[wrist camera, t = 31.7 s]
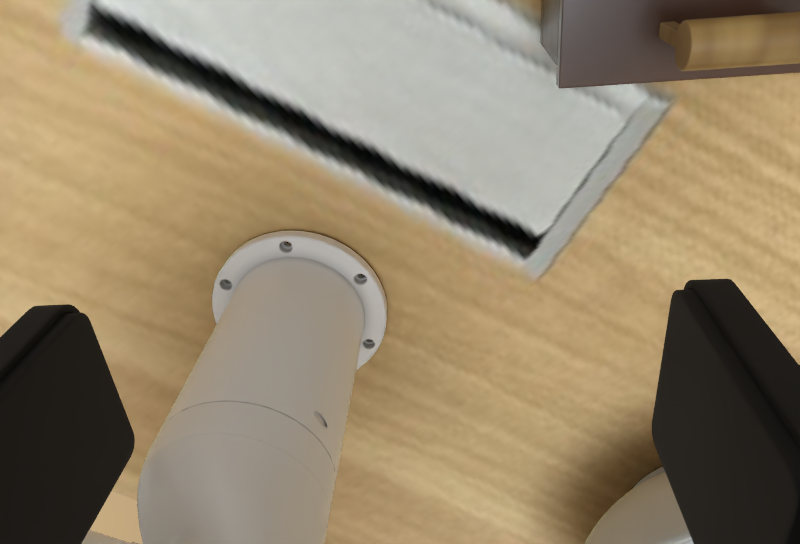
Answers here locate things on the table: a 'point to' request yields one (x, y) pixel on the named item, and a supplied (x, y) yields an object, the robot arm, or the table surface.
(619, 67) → the chest lid
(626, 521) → the decorative bowl
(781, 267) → the table surface
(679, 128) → the table surface
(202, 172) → the table surface
